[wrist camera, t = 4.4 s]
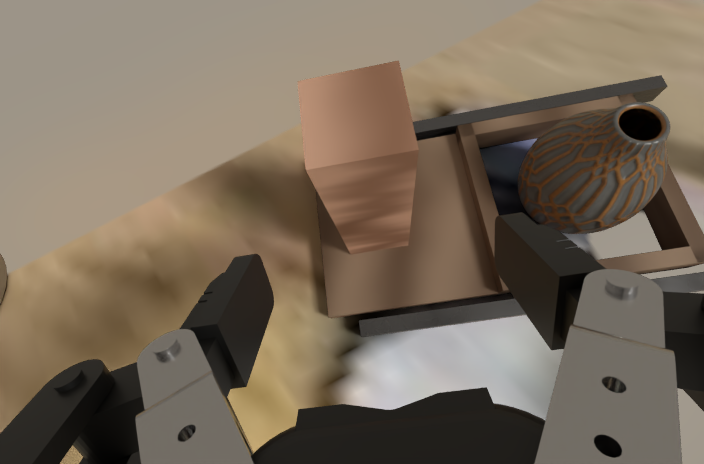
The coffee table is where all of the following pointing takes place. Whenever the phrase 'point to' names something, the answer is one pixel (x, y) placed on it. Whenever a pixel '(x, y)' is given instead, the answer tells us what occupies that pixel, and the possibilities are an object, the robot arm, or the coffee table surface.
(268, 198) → the coffee table surface
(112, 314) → the coffee table surface
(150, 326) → the coffee table surface
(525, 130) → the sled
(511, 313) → the lane rails
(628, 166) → the vase
